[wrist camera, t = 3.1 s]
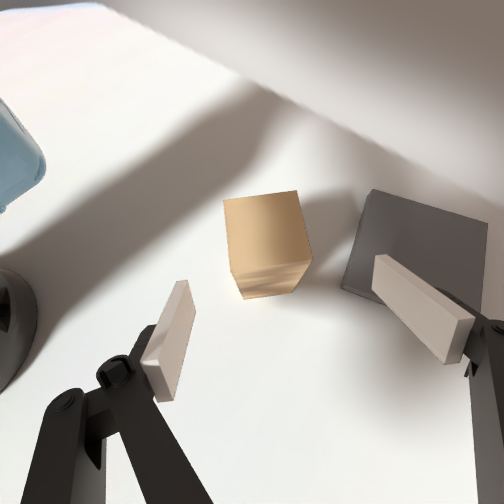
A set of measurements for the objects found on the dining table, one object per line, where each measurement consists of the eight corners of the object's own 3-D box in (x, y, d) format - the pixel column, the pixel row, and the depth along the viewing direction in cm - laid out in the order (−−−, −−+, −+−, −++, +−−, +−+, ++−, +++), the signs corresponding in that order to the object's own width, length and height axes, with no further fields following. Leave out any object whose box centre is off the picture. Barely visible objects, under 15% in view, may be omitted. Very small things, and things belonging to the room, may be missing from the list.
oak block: (243, 299, 24) (230, 271, 14) (238, 254, 26) (223, 200, 16) (291, 293, 24) (312, 259, 14) (282, 248, 26) (296, 190, 16)
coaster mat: (340, 288, 24) (345, 285, 23) (367, 196, 28) (372, 188, 27) (464, 335, 22) (478, 335, 21) (475, 229, 26) (487, 223, 24)
